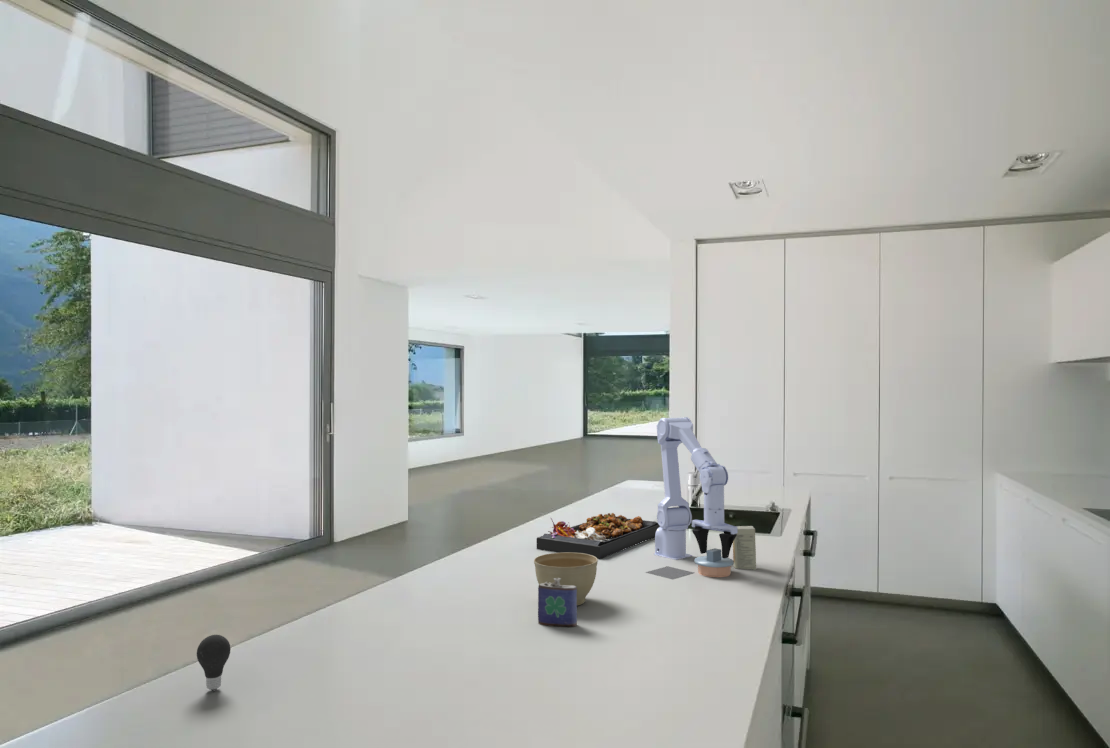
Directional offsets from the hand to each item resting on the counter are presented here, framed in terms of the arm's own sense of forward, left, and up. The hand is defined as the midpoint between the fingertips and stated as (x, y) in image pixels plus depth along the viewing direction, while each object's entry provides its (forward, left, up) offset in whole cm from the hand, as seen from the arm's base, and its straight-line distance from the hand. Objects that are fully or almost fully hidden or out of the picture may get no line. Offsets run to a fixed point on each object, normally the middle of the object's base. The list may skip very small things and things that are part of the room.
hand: (714, 555), depth 210 cm
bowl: (0, 0, -5) cm, 5 cm away
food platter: (-52, +8, -6) cm, 53 cm away
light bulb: (-15, -132, -6) cm, 133 cm away
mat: (-9, -9, -5) cm, 14 cm away
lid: (0, 0, -2) cm, 2 cm away
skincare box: (+2, +12, -6) cm, 13 cm away
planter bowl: (-10, -49, -6) cm, 50 cm away
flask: (+1, -62, -6) cm, 62 cm away
